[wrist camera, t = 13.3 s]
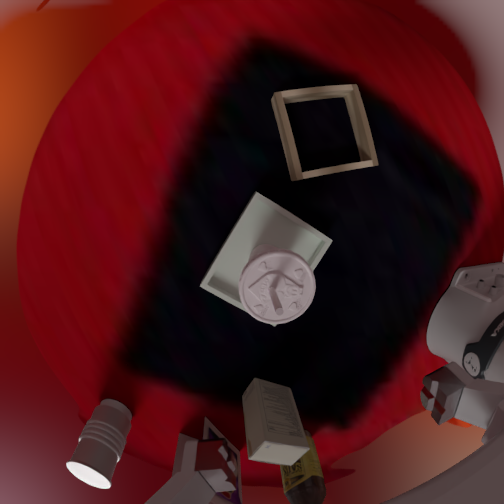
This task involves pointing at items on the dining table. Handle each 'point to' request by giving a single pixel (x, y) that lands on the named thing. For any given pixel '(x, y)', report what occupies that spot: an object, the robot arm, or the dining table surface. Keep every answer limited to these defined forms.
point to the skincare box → (272, 424)
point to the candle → (101, 444)
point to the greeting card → (232, 500)
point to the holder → (357, 121)
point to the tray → (257, 233)
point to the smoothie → (276, 284)
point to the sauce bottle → (304, 478)
